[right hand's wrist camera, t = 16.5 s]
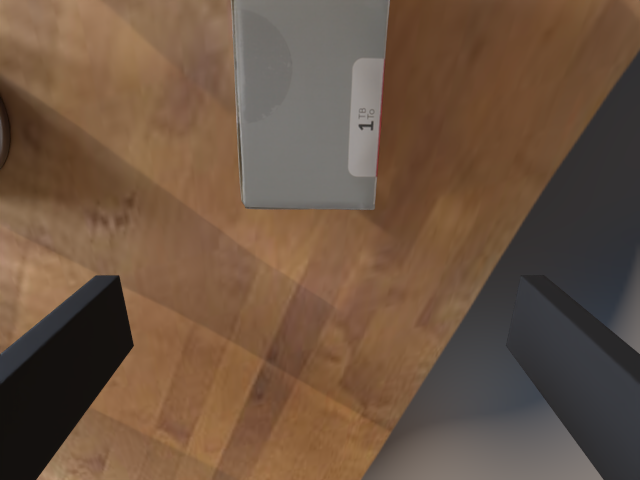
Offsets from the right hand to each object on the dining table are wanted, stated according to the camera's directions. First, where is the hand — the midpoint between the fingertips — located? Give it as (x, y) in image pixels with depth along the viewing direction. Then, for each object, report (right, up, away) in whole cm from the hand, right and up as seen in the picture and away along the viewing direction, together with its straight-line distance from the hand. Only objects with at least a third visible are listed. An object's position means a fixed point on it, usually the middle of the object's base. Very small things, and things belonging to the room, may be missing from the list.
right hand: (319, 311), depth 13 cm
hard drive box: (-1, +18, +24) cm, 30 cm away
